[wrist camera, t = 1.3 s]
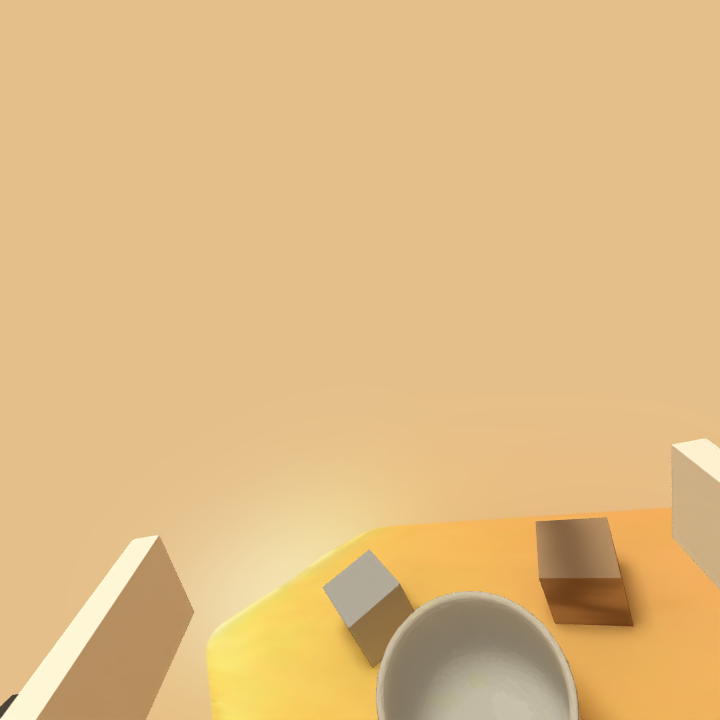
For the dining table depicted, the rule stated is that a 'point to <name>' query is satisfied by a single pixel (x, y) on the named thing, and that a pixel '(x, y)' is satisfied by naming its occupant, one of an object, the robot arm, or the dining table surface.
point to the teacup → (474, 664)
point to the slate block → (369, 604)
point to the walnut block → (581, 572)
